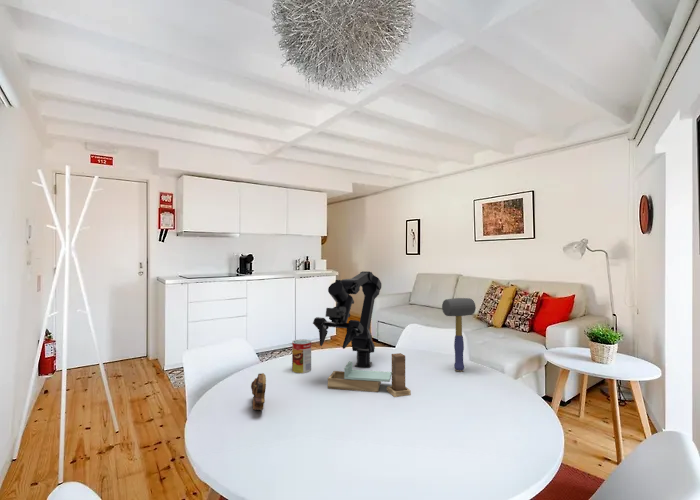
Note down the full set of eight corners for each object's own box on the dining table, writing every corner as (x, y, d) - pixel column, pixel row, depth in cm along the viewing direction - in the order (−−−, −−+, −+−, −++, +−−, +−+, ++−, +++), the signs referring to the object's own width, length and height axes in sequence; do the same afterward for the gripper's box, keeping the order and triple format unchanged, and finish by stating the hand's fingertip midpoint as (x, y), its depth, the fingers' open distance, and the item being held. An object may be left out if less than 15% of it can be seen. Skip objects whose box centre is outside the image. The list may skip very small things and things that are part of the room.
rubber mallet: (466, 366, 153) (466, 296, 153) (477, 372, 146) (477, 298, 146) (441, 369, 149) (440, 297, 150) (451, 375, 142) (450, 299, 143)
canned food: (299, 366, 153) (299, 338, 154) (314, 369, 150) (314, 340, 150) (288, 371, 146) (288, 342, 147) (304, 374, 143) (304, 344, 143)
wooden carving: (248, 399, 118) (248, 368, 118) (262, 397, 120) (262, 367, 120) (253, 420, 103) (253, 385, 103) (269, 417, 104) (269, 383, 105)
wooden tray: (333, 380, 136) (333, 370, 136) (380, 383, 133) (380, 373, 133) (327, 388, 127) (327, 378, 127) (377, 392, 124) (377, 382, 124)
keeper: (386, 390, 125) (386, 386, 125) (402, 388, 127) (402, 384, 127) (394, 397, 120) (394, 392, 120) (410, 394, 121) (410, 390, 122)
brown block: (391, 391, 124) (391, 354, 125) (400, 390, 126) (400, 353, 126) (396, 395, 121) (395, 356, 121) (405, 393, 122) (405, 355, 123)
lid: (349, 371, 135) (349, 361, 135) (391, 374, 132) (391, 363, 132) (344, 379, 126) (344, 368, 127) (389, 382, 123) (389, 370, 123)
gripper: (313, 296, 135) (300, 335, 127) (358, 299, 127) (347, 340, 119) (324, 310, 143) (313, 347, 135) (367, 313, 135) (358, 353, 127)
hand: (331, 347), depth 129 cm, fingers open, 9 cm apart
